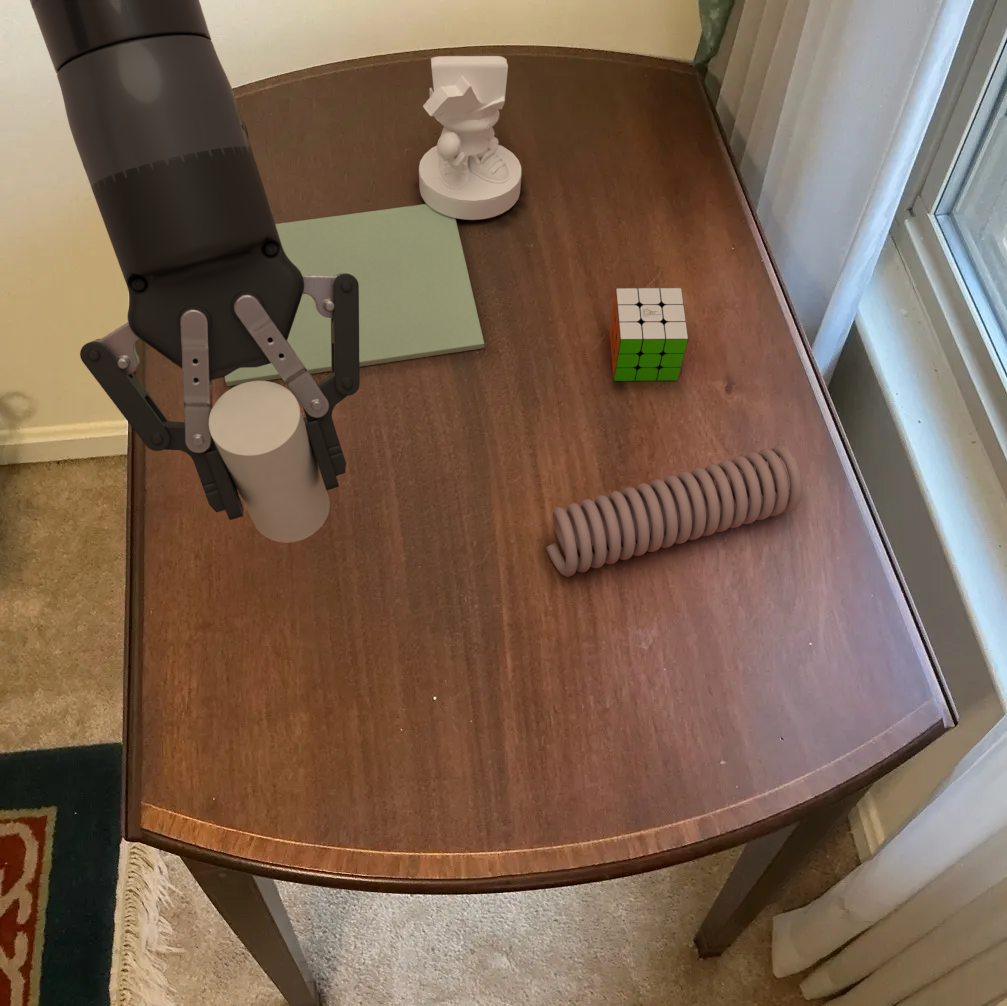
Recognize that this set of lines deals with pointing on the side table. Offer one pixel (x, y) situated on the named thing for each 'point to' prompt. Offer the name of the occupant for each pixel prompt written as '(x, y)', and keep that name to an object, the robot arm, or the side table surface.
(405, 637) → the side table surface
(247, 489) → the cylinder
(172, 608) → the side table surface
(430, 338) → the mat
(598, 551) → the coil
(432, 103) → the character figurine
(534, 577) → the side table surface
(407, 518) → the side table surface
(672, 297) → the rubik's cube
